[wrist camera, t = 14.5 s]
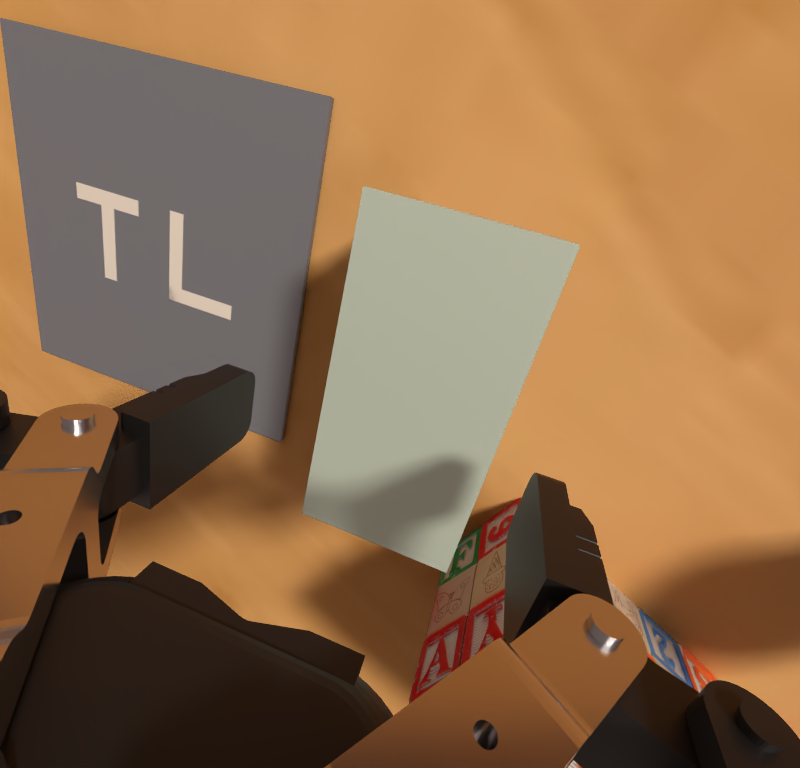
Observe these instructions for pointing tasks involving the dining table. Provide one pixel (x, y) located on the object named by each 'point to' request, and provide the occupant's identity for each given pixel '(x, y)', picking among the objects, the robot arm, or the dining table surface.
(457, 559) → the stack of blocks
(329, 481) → the sage block
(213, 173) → the gray tile
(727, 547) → the dining table surface
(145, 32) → the dining table surface
